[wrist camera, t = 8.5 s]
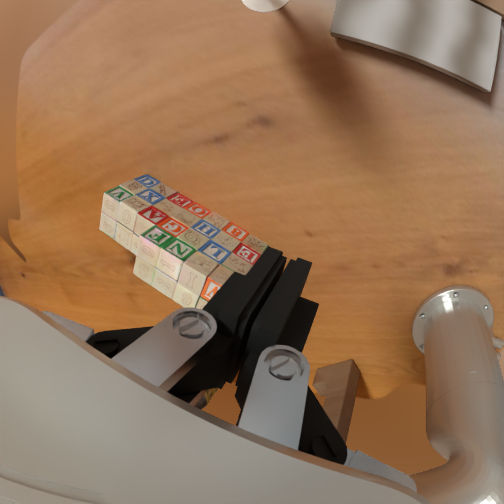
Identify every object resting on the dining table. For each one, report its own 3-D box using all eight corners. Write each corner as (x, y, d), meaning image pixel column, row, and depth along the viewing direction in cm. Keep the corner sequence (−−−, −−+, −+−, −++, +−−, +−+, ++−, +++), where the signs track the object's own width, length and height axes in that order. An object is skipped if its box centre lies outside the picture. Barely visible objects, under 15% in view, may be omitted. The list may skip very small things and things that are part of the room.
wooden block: (352, 358, 46) (334, 437, 33) (360, 371, 46) (344, 449, 34) (317, 368, 49) (291, 442, 37) (326, 380, 50) (303, 453, 37)
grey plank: (495, 21, 19) (501, 16, 17) (484, 92, 24) (490, 91, 22) (347, -33, 23) (346, -40, 21) (332, 36, 28) (329, 31, 26)
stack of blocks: (138, 207, 48) (83, 237, 38) (146, 172, 45) (86, 197, 35) (252, 277, 46) (214, 329, 36) (270, 244, 43) (232, 293, 32)
